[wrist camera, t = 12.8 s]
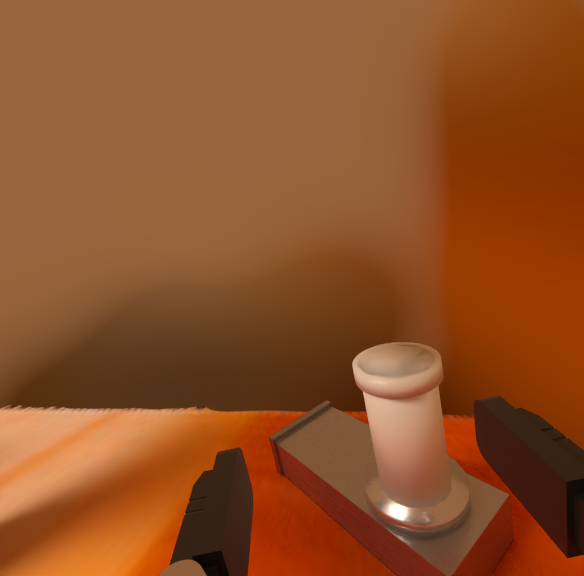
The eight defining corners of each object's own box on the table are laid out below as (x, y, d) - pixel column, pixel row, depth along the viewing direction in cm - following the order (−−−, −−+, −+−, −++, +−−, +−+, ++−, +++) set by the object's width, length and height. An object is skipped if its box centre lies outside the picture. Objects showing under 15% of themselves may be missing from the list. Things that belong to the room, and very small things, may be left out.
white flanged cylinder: (358, 482, 27) (335, 367, 25) (404, 441, 30) (387, 337, 28) (427, 530, 22) (405, 391, 20) (473, 475, 25) (458, 351, 23)
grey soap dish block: (277, 471, 37) (267, 430, 36) (333, 431, 42) (325, 394, 40) (455, 632, 21) (445, 564, 20) (514, 537, 25) (509, 478, 24)
